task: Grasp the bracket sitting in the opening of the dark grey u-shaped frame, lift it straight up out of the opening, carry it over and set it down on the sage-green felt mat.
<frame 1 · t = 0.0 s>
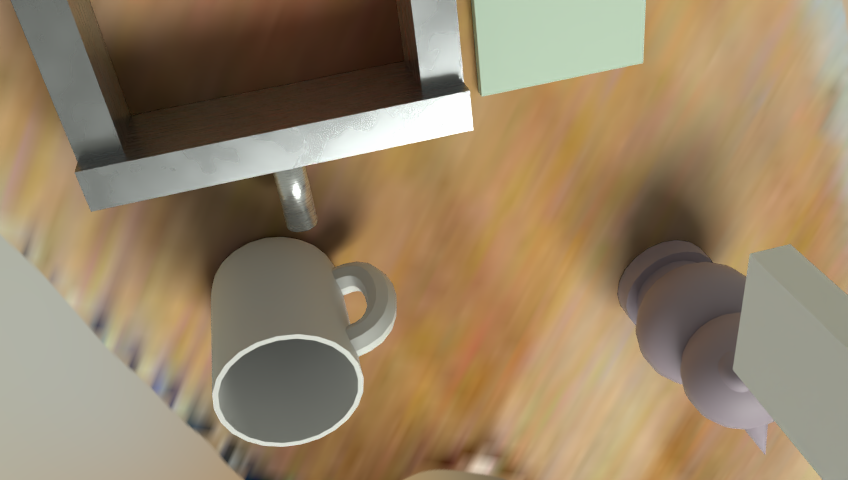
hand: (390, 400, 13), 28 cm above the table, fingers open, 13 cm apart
cup: (297, 274, 46), on the table
cat figurine: (662, 279, 52), on the table
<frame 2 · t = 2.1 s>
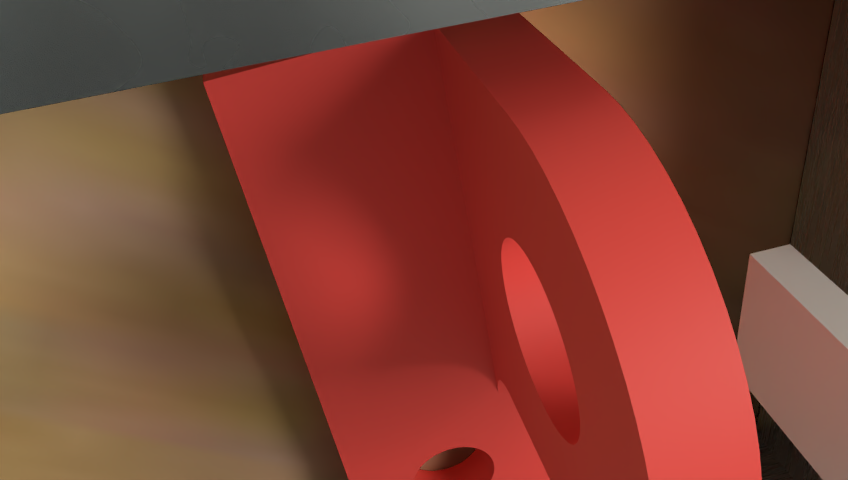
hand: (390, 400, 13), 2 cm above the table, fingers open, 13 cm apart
bracket: (413, 301, 16), on the table
grey u-shaped frame: (403, 305, 15), on the table
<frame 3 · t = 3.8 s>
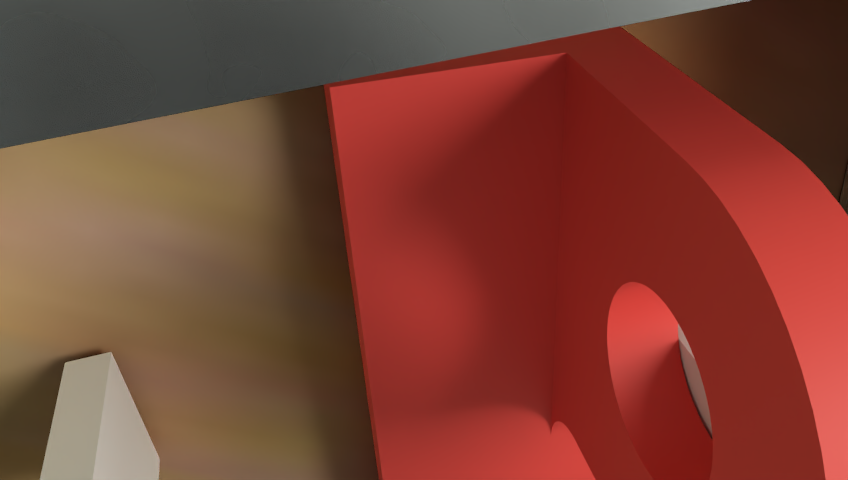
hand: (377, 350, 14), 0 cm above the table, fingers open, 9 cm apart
bracket: (474, 331, 16), on the table, touching gripper
grey u-shaped frame: (423, 331, 15), on the table
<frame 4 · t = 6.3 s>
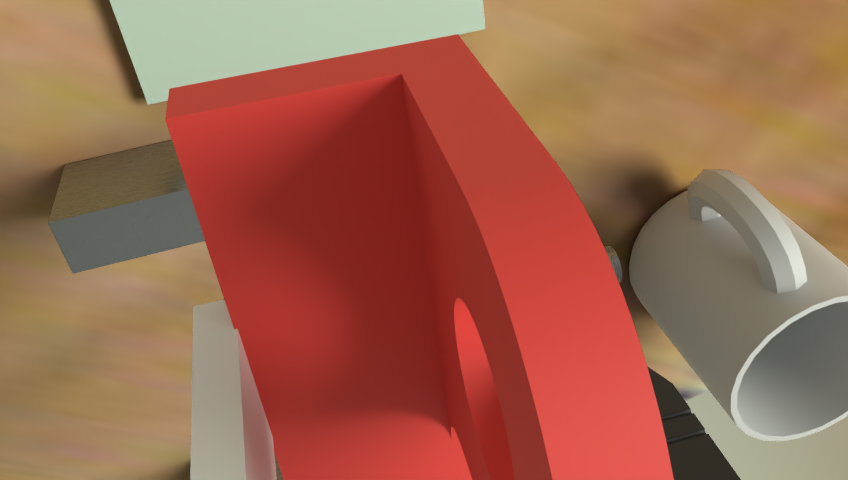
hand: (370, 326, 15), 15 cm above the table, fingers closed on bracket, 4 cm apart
bracket: (372, 341, 16), point 15 cm above the table, touching gripper
cup: (689, 221, 37), on the table
grey u-shaped frame: (255, 320, 33), on the table
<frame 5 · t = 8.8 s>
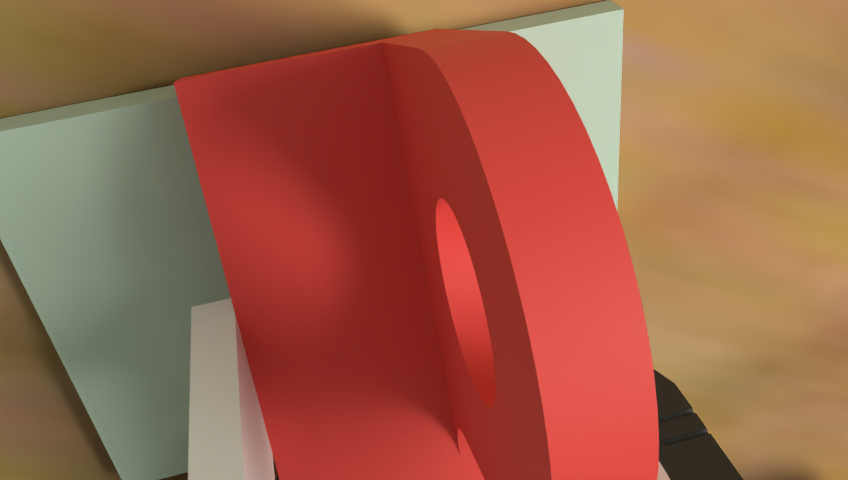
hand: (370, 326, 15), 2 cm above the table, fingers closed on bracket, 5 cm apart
bracket: (375, 355, 16), point 2 cm above the table, touching gripper, mat, grey u-shaped frame
mat: (344, 258, 17), on the table
when the fingers open (1 cm above the table, at t = 9.8 s): bracket stays where it is, resting on mat, grey u-shaped frame.
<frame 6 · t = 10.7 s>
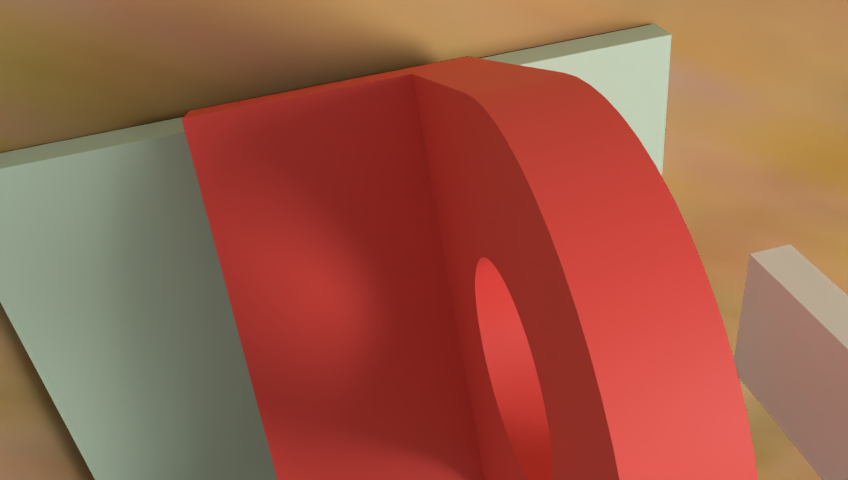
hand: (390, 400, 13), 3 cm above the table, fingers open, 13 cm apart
bracket: (398, 406, 15), point 2 cm above the table, touching mat, grey u-shaped frame
mat: (362, 298, 16), on the table
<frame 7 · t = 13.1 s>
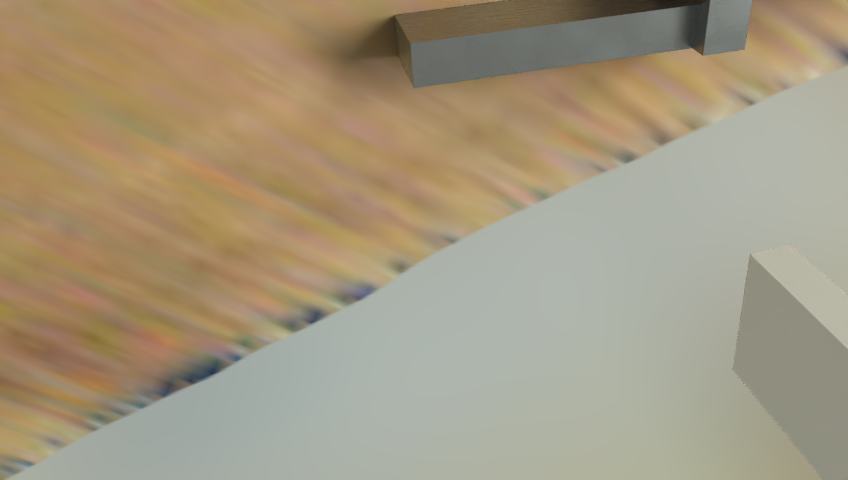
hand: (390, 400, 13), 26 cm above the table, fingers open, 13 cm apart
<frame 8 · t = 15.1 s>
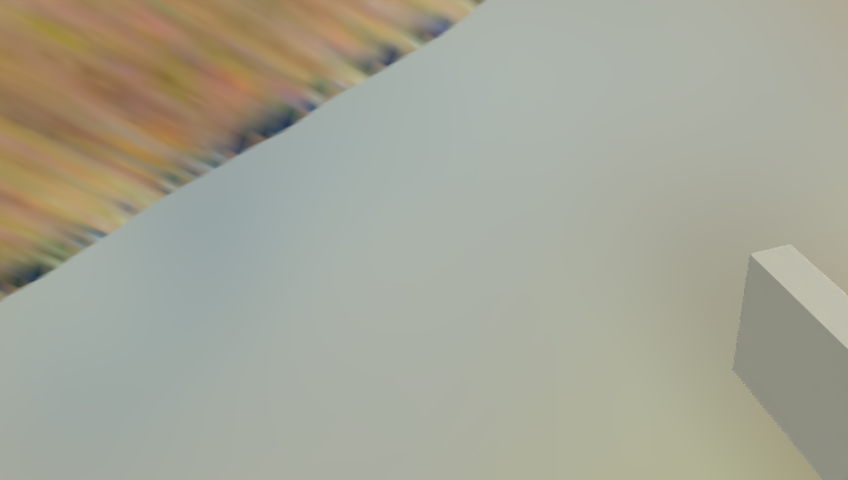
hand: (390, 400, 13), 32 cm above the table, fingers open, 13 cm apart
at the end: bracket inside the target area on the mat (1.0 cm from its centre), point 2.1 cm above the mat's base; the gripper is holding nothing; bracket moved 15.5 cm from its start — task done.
